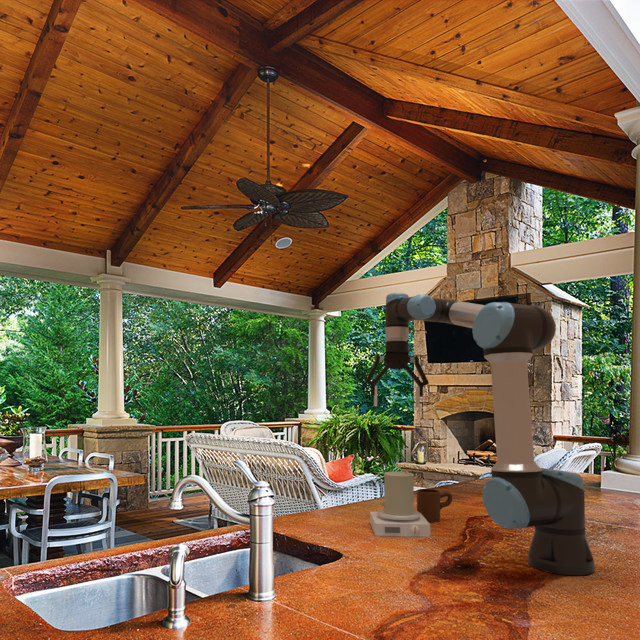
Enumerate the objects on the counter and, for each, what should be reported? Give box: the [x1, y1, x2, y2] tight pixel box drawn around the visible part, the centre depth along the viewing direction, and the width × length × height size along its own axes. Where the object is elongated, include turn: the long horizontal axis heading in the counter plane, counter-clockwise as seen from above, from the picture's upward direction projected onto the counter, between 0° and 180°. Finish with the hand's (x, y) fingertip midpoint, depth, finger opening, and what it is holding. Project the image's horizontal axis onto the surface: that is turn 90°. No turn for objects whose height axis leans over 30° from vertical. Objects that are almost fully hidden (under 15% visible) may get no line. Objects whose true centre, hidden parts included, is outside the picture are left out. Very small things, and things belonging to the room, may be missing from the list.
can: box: [383, 471, 415, 516], centre depth 177 cm, size 9×9×12 cm
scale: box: [369, 508, 431, 538], centre depth 175 cm, size 16×16×5 cm
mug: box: [416, 488, 453, 523], centre depth 190 cm, size 12×8×9 cm, turn 98°
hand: (396, 406), depth 185 cm, fingers open, 13 cm apart
